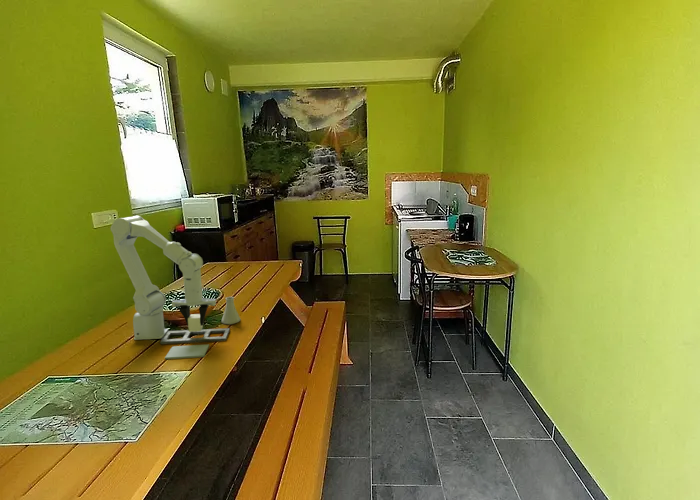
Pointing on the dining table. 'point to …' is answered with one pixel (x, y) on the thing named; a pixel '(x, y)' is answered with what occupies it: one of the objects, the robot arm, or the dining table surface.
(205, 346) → the pad
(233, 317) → the flask
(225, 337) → the grey slotted frame
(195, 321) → the peg
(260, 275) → the dining table surface
